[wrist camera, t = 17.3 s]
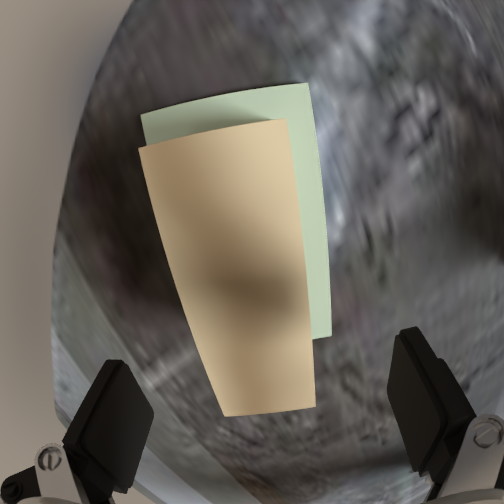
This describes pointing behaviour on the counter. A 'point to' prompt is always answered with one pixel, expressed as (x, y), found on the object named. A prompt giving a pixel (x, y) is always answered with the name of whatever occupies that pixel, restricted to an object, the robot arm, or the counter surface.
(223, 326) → the wooden block
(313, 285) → the mat
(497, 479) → the robot arm
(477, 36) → the counter surface
